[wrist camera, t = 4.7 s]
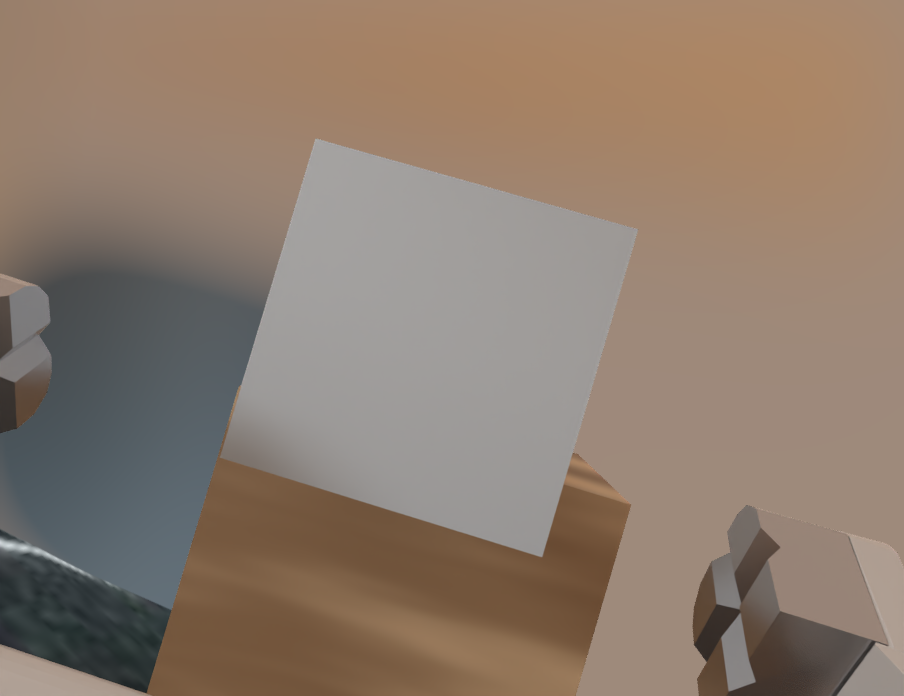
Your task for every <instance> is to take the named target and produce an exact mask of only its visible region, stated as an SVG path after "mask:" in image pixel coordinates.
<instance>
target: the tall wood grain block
mask: <svg viewBox="0 0 904 696" xmlns="http://www.w3.org/2000/svg"><path fill="white" fill-rule="evenodd" d="M240 389H241V386H239V388H238V391H237V395H236V398H235V402H234V405H233V409H232V411H231V415H230V418H229V421H228V425H227V429H226V431H225V435H224V438H223V441H222V445H221V448H220V452H219V455H218V458H217V461H216V465H215V468H214V471H213V475H212V478H211V481H210V485H209V488H208V492H207V495H206V498H205V501H204V505H203V508H202V511H201V515H200V518H199V521H198V525H197V528H196V531H195V535H194V538H193V541H192V544H191V548H190V551H189V554H188V558H187V561H186V565H185V568H184V571H183V574H182V578H181V581H180V584H179V588H178V591H177V595H176V598H175V601H174V605H173V608H172V611H171V614H170V618H169V621H168V624H167V628H166V631H165V634H164V638H163V641H162V644H161V648H160V651H159V654H158V658H157V661H156V664H155V668H154V671H153V674H152V678H151V681H150V684H149V688H148V691H147V694H149V695H151V696H576V692H577V688H578V685H579V682H580V679H581V675H582V672H583V668H584V665H585V661H586V658H587V655H588V651H589V648H590V644H591V641H592V637H593V634H594V631H595V627H596V624H597V620H598V617H599V613H600V610H601V606H602V603H603V599H604V596H605V593H606V589H607V586H608V582H609V579H610V576H611V572H612V569H613V565H614V562H615V558H616V555H617V552H618V548H619V545H620V541H621V538H622V535H623V531H624V527H625V524H626V521H627V517H628V514H629V511H630V507H631V504H630V503H629V502H628V501H626V500H625V499H624V498H623V497H622V496H621V495H620V494H619V493H618V492H617V491H616V490H615V489H614V488H613V487H612V486H611V485H610V484H608V482H606V481H605V480H604V479H603V478H602V477H601V476H600V475H599V474H598V473H597V472H596V471H595V470H594V469H593V468H592V467H591V466H590V465H589V464H588V463H587V462H585V461H584V460H583V459H582V458H581V457H580V456H579V455H578V454H575V453H573V454H572V457H571V461H570V464H569V467H568V471H567V474H566V478H565V481H564V484H563V488H562V491H561V495H560V498H559V501H558V505H557V508H556V512H555V515H554V519H553V522H552V525H551V529H550V532H549V536H548V539H547V542H546V546H545V549H544V553H543V556H542V557H539V556H536V555H533V554H530V553H527V552H523V551H520V550H517V549H514V548H510V547H507V546H504V545H501V544H497V543H494V542H491V541H488V540H484V539H481V538H478V537H475V536H472V535H468V534H465V533H462V532H459V531H455V530H452V529H449V528H446V527H442V526H439V525H436V524H433V523H430V522H426V521H423V520H420V519H417V518H413V517H410V516H407V515H404V514H400V513H397V512H394V511H391V510H388V509H384V508H381V507H378V506H375V505H371V504H368V503H365V502H362V501H358V500H355V499H352V498H349V497H345V496H342V495H339V494H336V493H333V492H329V491H326V490H323V489H320V488H316V487H313V486H310V485H307V484H303V483H300V482H297V481H294V480H291V479H287V478H284V477H281V476H278V475H274V474H271V473H268V472H265V471H261V470H258V469H255V468H252V467H249V466H245V465H242V464H239V463H236V462H232V461H229V460H226V459H223V458H220V455H221V452H222V449H223V445H224V442H225V439H226V435H227V432H228V429H229V425H230V422H231V419H232V415H233V412H234V409H235V405H236V402H237V399H238V395H239V392H240Z"/></svg>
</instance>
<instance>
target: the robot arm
mask: <svg viewBox="0 0 904 696" xmlns="http://www.w3.org/2000/svg"><path fill="white" fill-rule="evenodd" d="M49 323H50V312H49V299H48V296H47V295H46V294H45V293H44V292H43V291H42V289H41V288H40V287H39V286H37V285H34V284H31V283H28V282H24V281H22V280H19V279H15V278H12V277H10V276H6V275H3V274H0V433H3V432H6V431H10V430H13V429H17V428H18V427H19V426H21V425H22V424H23V423H24V422H25V421H26V420H28V419H29V418H30V417H31V416H32V415H33V414H34V413H35V411H36V410H37V408H38V407H39V405H40V403H41V402H42V400H43V398H44V397H45V395H46V393H47V390H48V386H49V381H50V377H51V354H50V353H49V351H48V349H47V348H46V346H45V345H44V343H43V341H42V340H41V338H40V337H39V334H40V333H41V331H43V329H44V328H45V327H46V326H47V325H48V324H49ZM728 539H729V545H730V553H728V554H726V555H724V556H722V557H720V558H718V559H716V560H714V561H712V562H711V563H710V566H709V568H708V570H707V572H706V574H705V576H704V578H703V580H702V582H701V584H700V587H699V591H698V595H697V598H696V602H695V606H694V615H693V637H694V645H695V647H696V648H697V649H698V651H699V652H700V653H701V655H702V656H703V658H704V659H705V660H706V662H707V663H706V665H705V666H704V668H703V670H702V672H701V673H700V675H699V677H698V679H697V681H698V691H699V696H904V567H903V565H902V563H901V560H900V558H899V556H898V554H897V552H896V551H895V550H893V549H892V548H891V547H890V546H889V545H888V544H886V543H882V542H878V541H874V540H871V539H867V538H863V537H860V536H856V535H852V534H849V533H845V532H841V531H840V532H839V531H835V530H831V529H828V528H824V527H821V526H818V525H814V524H811V523H807V522H804V521H800V520H797V519H793V518H790V517H787V516H783V515H779V514H776V513H773V512H769V511H766V510H762V509H759V508H755V507H752V506H748V505H746V506H745V507H744V508H743V509H742V510H741V511H740V512H739V513H738V514H737V516H736V518H735V520H734V521H733V523H732V525H731V527H730V528H729V530H728ZM0 696H151V695H149V694H146V693H143V692H140V691H137V690H134V689H131V688H128V687H125V686H122V685H119V684H116V683H113V682H110V681H107V680H104V679H101V678H98V677H95V676H92V675H89V674H86V673H83V672H80V671H77V670H74V669H71V668H68V667H66V666H63V665H60V664H57V663H54V662H51V661H48V660H45V659H42V658H39V657H36V656H33V655H30V654H27V653H24V652H21V651H18V650H15V649H12V648H9V647H6V646H3V645H0Z"/></svg>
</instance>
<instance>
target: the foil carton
mask: <svg viewBox="0 0 904 696" xmlns="http://www.w3.org/2000/svg"><path fill="white" fill-rule="evenodd" d="M637 232H638V229H634V228H631V227H628V226H624V225H621V224H617V223H613V222H610V221H606V220H603V219H599V218H596V217H592V216H589V215H585V214H582V213H578V212H574V211H571V210H567V209H564V208H560V207H557V206H553V205H550V204H546V203H542V202H539V201H535V200H532V199H528V198H525V197H521V196H518V195H514V194H511V193H507V192H503V191H500V190H496V189H493V188H489V187H486V186H482V185H479V184H475V183H472V182H468V181H464V180H461V179H457V178H453V177H450V176H447V175H443V174H440V173H436V172H433V171H429V170H425V169H422V168H418V167H415V166H411V165H408V164H404V163H400V162H397V161H393V160H390V159H386V158H383V157H379V156H376V155H372V154H369V153H365V152H362V151H358V150H355V149H351V148H347V147H344V146H340V145H336V144H333V143H330V142H326V141H323V140H319V139H315V143H314V146H313V149H312V153H311V156H310V160H309V163H308V166H307V169H306V173H305V176H304V179H303V182H302V186H301V189H300V193H299V196H298V199H297V202H296V206H295V209H294V212H293V216H292V219H291V222H290V226H289V229H288V233H287V236H286V239H285V242H284V246H283V249H282V252H281V256H280V259H279V263H278V266H277V269H276V273H275V276H274V279H273V282H272V286H271V289H270V292H269V296H268V299H267V303H266V306H265V309H264V312H263V316H262V319H261V322H260V326H259V329H258V332H257V336H256V339H255V342H254V346H253V349H252V352H251V356H250V359H249V362H248V366H247V369H246V372H245V375H244V379H243V382H242V385H241V389H240V392H239V395H238V399H237V402H236V405H235V409H234V412H233V415H232V419H231V422H230V425H229V429H228V432H227V435H226V439H225V442H224V445H223V449H222V452H221V455H220V458H223V459H226V460H229V461H232V462H236V463H239V464H242V465H245V466H249V467H252V468H255V469H258V470H261V471H265V472H268V473H271V474H274V475H278V476H281V477H284V478H287V479H291V480H294V481H297V482H300V483H303V484H307V485H310V486H313V487H316V488H320V489H323V490H326V491H329V492H333V493H336V494H339V495H342V496H345V497H349V498H352V499H355V500H358V501H362V502H365V503H368V504H371V505H375V506H378V507H381V508H384V509H388V510H391V511H394V512H397V513H400V514H404V515H407V516H410V517H413V518H417V519H420V520H423V521H426V522H430V523H433V524H436V525H439V526H442V527H446V528H449V529H452V530H455V531H459V532H462V533H465V534H468V535H472V536H475V537H478V538H481V539H484V540H488V541H491V542H494V543H497V544H501V545H504V546H507V547H510V548H514V549H517V550H520V551H523V552H527V553H530V554H533V555H536V556H539V557H542V556H543V553H544V549H545V546H546V542H547V539H548V536H549V532H550V529H551V525H552V522H553V519H554V515H555V512H556V508H557V505H558V501H559V498H560V495H561V491H562V488H563V484H564V481H565V478H566V474H567V471H568V467H569V464H570V461H571V457H572V454H573V450H574V446H575V443H576V440H577V436H578V433H579V430H580V426H581V423H582V420H583V416H584V413H585V409H586V406H587V402H588V399H589V396H590V392H591V389H592V385H593V382H594V379H595V375H596V372H597V368H598V365H599V361H600V358H601V355H602V351H603V347H604V344H605V341H606V337H607V334H608V330H609V327H610V324H611V320H612V317H613V313H614V310H615V307H616V304H617V300H618V296H619V293H620V290H621V286H622V283H623V280H624V276H625V273H626V269H627V266H628V263H629V259H630V255H631V252H632V249H633V245H634V242H635V239H636V235H637Z"/></svg>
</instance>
